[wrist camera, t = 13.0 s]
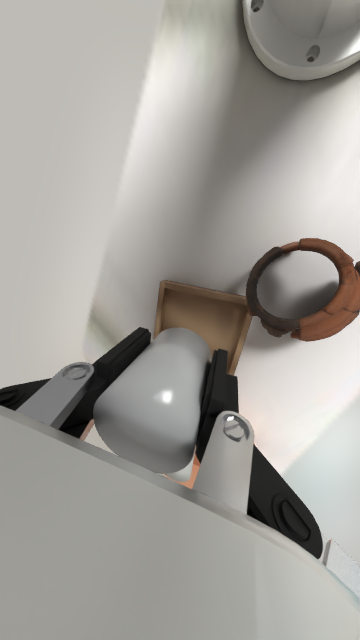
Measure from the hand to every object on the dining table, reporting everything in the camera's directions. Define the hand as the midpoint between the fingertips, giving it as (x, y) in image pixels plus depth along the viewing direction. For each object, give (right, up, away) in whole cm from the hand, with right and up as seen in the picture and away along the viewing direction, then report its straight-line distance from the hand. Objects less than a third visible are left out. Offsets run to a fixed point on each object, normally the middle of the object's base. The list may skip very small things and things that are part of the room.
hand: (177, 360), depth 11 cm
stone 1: (0, 0, +1) cm, 1 cm away
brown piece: (+13, +6, +8) cm, 17 cm away
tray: (+2, -1, +13) cm, 14 cm away
